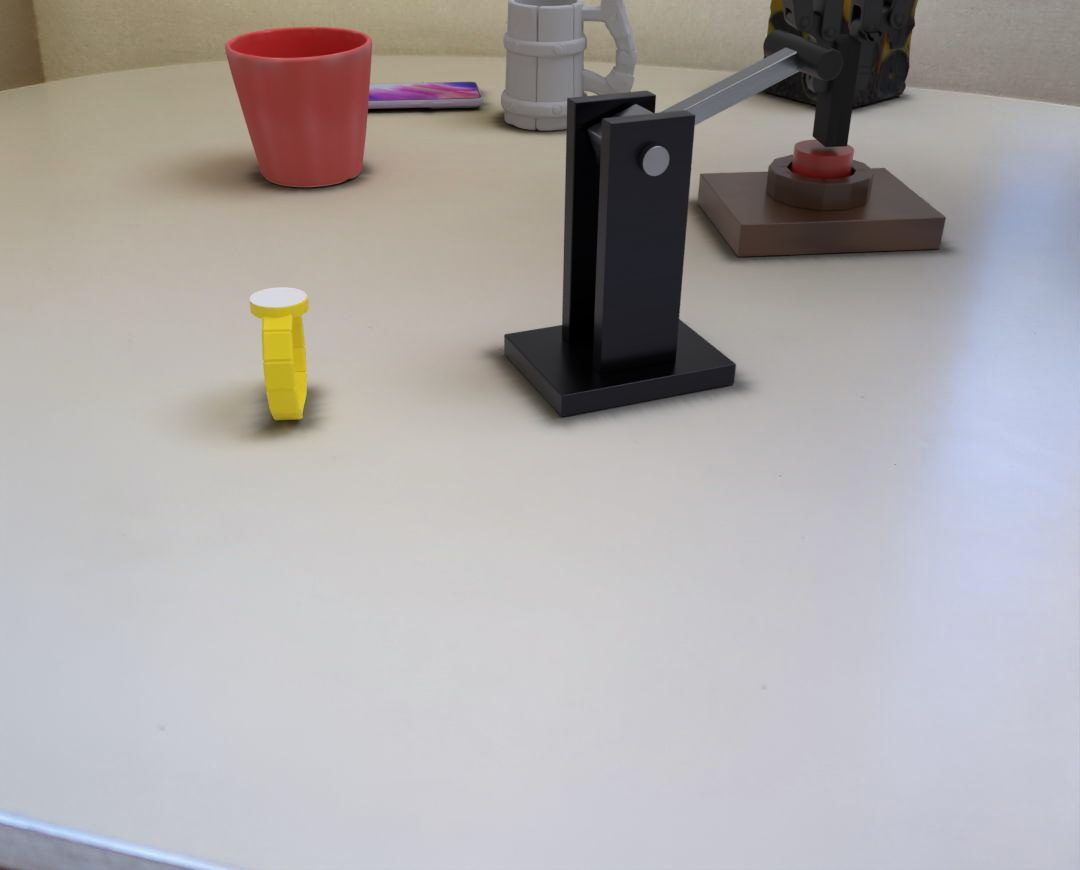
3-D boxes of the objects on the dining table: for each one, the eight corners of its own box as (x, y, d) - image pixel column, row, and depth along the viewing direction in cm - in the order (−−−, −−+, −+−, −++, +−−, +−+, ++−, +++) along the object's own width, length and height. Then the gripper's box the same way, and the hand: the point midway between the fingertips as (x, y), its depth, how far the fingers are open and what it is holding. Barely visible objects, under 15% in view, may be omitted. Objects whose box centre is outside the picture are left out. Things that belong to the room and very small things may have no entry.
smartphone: (317, 84, 113) (476, 80, 115) (318, 94, 113) (477, 90, 115) (315, 102, 107) (483, 98, 109) (316, 112, 107) (484, 108, 109)
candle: (823, 76, 122) (838, -33, 116) (907, 96, 115) (927, -18, 110) (756, 91, 116) (767, -22, 110) (840, 113, 110) (857, -6, 104)
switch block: (880, 196, 90) (889, 142, 88) (940, 249, 81) (952, 190, 79) (697, 203, 88) (701, 147, 86) (737, 257, 79) (743, 197, 77)
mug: (508, 107, 110) (508, -37, 104) (637, 113, 109) (645, -32, 102) (493, 129, 104) (491, -23, 97) (629, 137, 103) (637, -17, 96)
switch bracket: (664, 326, 70) (682, 78, 62) (734, 384, 64) (764, 117, 56) (503, 353, 67) (501, 95, 59) (561, 417, 61) (568, 138, 53)
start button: (838, 163, 85) (842, 138, 84) (858, 181, 81) (862, 155, 80) (783, 165, 84) (786, 140, 83) (801, 183, 81) (805, 157, 80)
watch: (315, 436, 59) (302, 322, 55) (257, 437, 58) (241, 323, 55) (322, 380, 64) (311, 273, 60) (269, 382, 63) (255, 274, 60)
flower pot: (214, 186, 90) (194, 49, 85) (282, 147, 99) (268, 20, 94) (343, 201, 88) (332, 61, 82) (401, 160, 96) (395, 30, 91)
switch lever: (790, 60, 62) (782, 15, 61) (846, 82, 59) (839, 34, 57) (588, 165, 61) (575, 121, 60) (632, 194, 57) (619, 148, 56)
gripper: (793, -283, 64) (751, 161, 78) (1024, -283, 66) (944, 153, 79) (754, -282, 71) (720, 129, 84) (965, -282, 72) (900, 123, 85)
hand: (829, 140), depth 81 cm, fingers closed
